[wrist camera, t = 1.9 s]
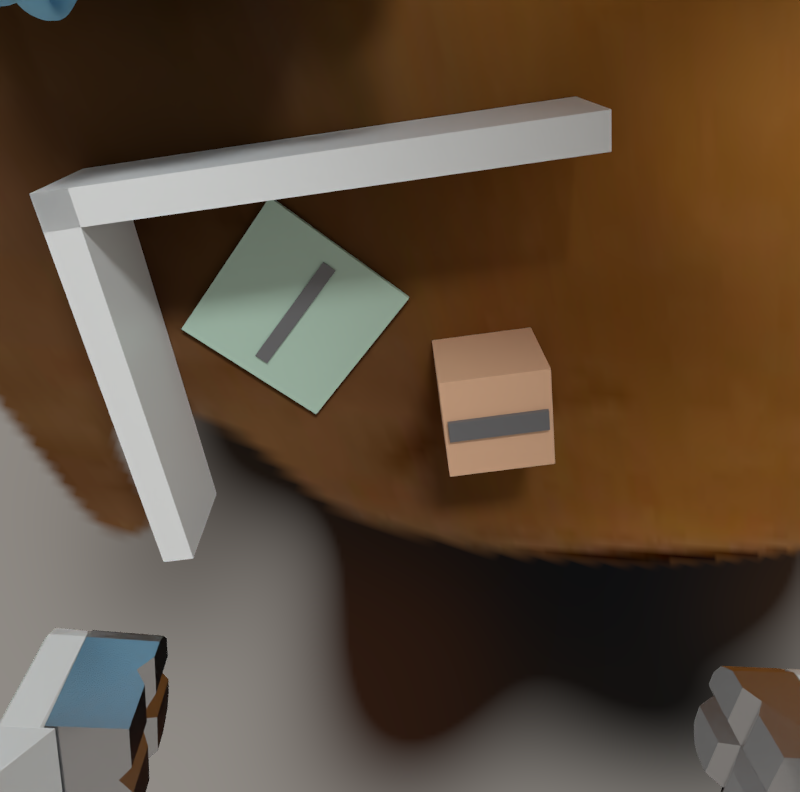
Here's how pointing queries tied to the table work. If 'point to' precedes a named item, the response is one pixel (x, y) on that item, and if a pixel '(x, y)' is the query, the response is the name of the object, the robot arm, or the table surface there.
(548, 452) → the cube
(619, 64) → the table surface
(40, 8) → the decorative pot
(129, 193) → the white l-shaped bracket
